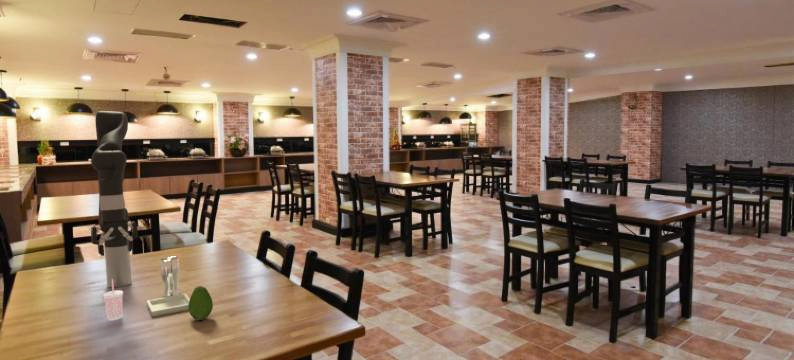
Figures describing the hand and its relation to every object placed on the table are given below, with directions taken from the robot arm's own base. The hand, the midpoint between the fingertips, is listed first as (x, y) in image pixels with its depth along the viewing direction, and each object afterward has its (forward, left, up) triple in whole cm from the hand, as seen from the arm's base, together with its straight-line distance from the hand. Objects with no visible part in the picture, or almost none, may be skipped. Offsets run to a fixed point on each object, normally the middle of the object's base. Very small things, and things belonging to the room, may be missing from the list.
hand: (116, 253), depth 174 cm
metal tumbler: (-14, +19, -23) cm, 33 cm away
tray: (+1, +16, -23) cm, 28 cm away
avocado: (+20, +23, -23) cm, 38 cm away
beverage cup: (+1, -2, -23) cm, 23 cm away
